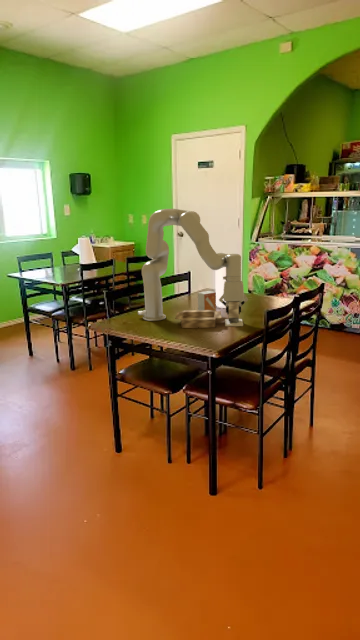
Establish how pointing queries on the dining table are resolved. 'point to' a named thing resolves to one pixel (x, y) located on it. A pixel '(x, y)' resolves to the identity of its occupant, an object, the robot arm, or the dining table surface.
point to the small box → (207, 300)
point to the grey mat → (233, 323)
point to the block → (233, 311)
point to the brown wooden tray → (198, 318)
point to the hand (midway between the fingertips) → (233, 313)
